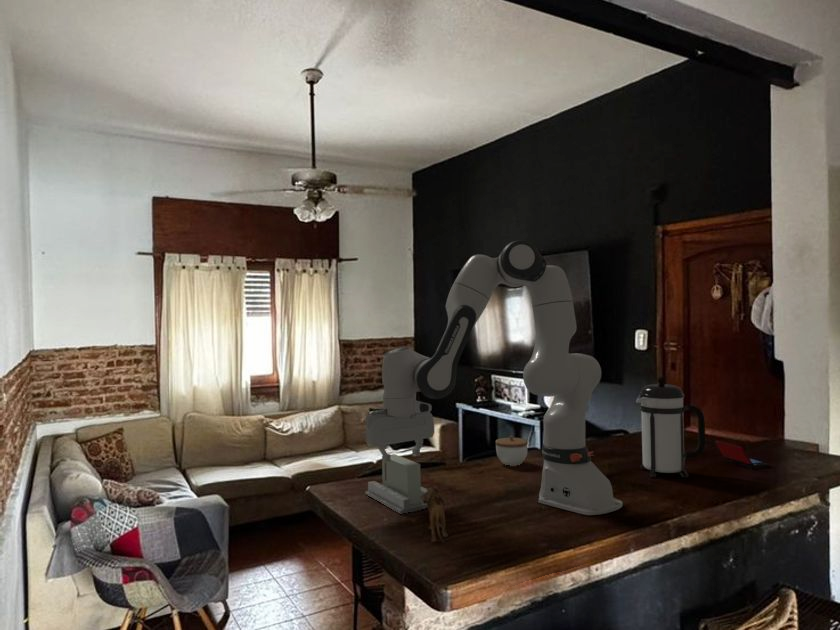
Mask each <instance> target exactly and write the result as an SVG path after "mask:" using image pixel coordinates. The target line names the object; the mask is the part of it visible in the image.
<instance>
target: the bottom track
mask: <svg viewBox="0 0 840 630" xmlns="http://www.w3.org/2000/svg"><path fill="white" fill-rule="evenodd" d="M367 487H368V488H367V490H366V491H364V494H367V495H368V496H370V497H372V498H374V499H375V500H377V501H379V502H381V503H382V504H384V505H386V506H387V507H389V508H391V509H392V511H393V510H394V511H393V512H395V511H396V512H398V513H400V514H402V515H404V514H403V513H406V514H409V513H408V512H411V513H414V511H415V512H418V510H419V511H422V510H421V509H424V510H426V509H425V508H428V507H427V503H426V504H424V503H423V501H422V500H421V502H418V503H413V504H410V498H408V497H406V496H404V495H402V494H400V493H398V492H396V491H394V490H392V489H390V488H387V487H385V486H383V484H381V483H379V482H377V481H376V480H373V481H368V482H367ZM426 492H427V488H426V487H424V486H421V496H422V495H424V494H425V493H426ZM368 496H367V497H368ZM375 500H374V501H375ZM377 501H376V502H377ZM382 504H381V505H382ZM384 505H383V506H384ZM386 506H385V507H386ZM387 507H386V508H387ZM389 508H388V509H389ZM391 509H390V510H391ZM396 512H395V513H396ZM398 513H397V514H398ZM400 514H399V515H400Z"/></svg>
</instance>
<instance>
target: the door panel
mask: <svg viewBox="0 0 840 630" xmlns="http://www.w3.org/2000/svg"><path fill="white" fill-rule="evenodd" d="M390 459H391V460H390V461H388V462H384V461H383V456H382V455H381V470H382V471H381V473H382V474H381V476H382V485H383V486H385V487H387V488H390V489H392V490H394V491H396V492H398V493H400V494H402V495H404V496H406V497H408V498H410V504H413V503H418V502H421V498H420V497H421V487H422V486H421V485H422V484H421V481H422V479H421V463H418V462H415V461H413V460H411V459H408V458H405V457H403V456H400V455H397V454H394V453H392V454H390Z"/></svg>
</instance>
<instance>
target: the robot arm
mask: <svg viewBox="0 0 840 630" xmlns="http://www.w3.org/2000/svg"><path fill="white" fill-rule="evenodd" d="M497 287H500V288H501V287H502V288H507V289H520V288H522V287H525V288H526V289H527V290H528V292H529V294H530V297H531V304H532V305H531V306H532V313H533V320H534V329H535V330H534V331H535V339H534V341H535V342H534V347H533V352H532V354H531V357H530V359H529V361H528V362H527V363H526V364H525V366H524V368H523V373H522V374H523V375H522V377H523V378H522V380H523V383H524V386H525V388H526V389H527V390H528V392H529V393H531V394H533V395H535V396H540V397H548V398H551V397H552V398H553V400H552V403H551V404H550V406H549V408H548V409H547V411H546V412H545V414H544V416H543V443H542V445H541V446H542V449H541V452H542V453H541V454H542V455H541V457H542V458H543V467H542V474H541V485H540V490H539V494H538V503H540V504H542V505H546V506H550V507H553V508H554V507H555V508H558V509H562V510H564V511H565V510H566V511H569V512H573V513H576V514H580V515H584V516H596V515H597V516H598V515H604V514H608V513H611V512H615V511H617V510H619V509H622V507H623V506H624V505H623V504H624V503H623V501H622V500H620V499H618V498H616V497H614V493H613V486H612V484H611V481H610V480H609V478H607V477H606V475H605V474H603V472H602V471H601V470H600V469H599V468H598V467H597V466H596V465H595V464H594V463H593V462H592V461H591V460H592V458H591V457H592V456H594V454H593V453H594V451H593V450H591V451H589V449H588V446H587V445H586V417H587V411H588V407H589V402H590V399H591V397H592V394H593V391H594V389H595V388H596V387H597V385H598V384H599V383H600V381H601V379H602V368H601V366H600V363H599V362H598V360H597V359H596V357H595V358H594V357H593V356H592V355H589V354H584V353H579V352H578V353H577V352H574V353H569V350H570V349H569V348H570V342H571V340H572V337H573V336H574V335H575V333H576V332H577V327H578V326H577V321H576V320H577V319H576V314H575V308H574V302H573V295H572V291H571V287H570V284H569V281H568V278H567V275H566V272H565V271H564V269H563V268H561V267H560V266H557V265H552V264H550V265H547V260H546V259H545V258H544V256H543V255H541V253H540V252H539V250H538V249H537V247H536V246H535V245H534V244H533V243H531V242H529V241H527V240H514V241H511V242H510V243H508V244H506V245H505V247H504V248H503V249H502V251H501V252H500V254H499V255H498V256H497V257H490V256H488V255H486V254H474V255H472V256H470V258H469V259H468V260H467V261H466V262H465V263H464V265H463V267H462V268H461V270H460V271H459V273H458V274H457V277H456V278H455V280H454V282H453V284H452V286H451V288H450V291H449V292H448V296H447V299H446V301H445V302H446V303H445V310H446V314H447V325H446V329H445V331H444V334H443V335H442V337H441V340H440V342H439V345H438V346H437V348H436V351H435V353H434V354H433V356H432V357H429V356H425V355H423V354H420V353H418V352H416V351H415V350H414V349H412V348H410V347H407V346H405V347H399V348H398V347H397V348H394V349H391V350H389V351H387V352H385V354H384V355H383V359H382V366H381V369H382V370H381V379H382V381H381V383H382V384H383V394H382V404H383V405H382V406H383V407H382V408H383V409H379V410H372V411H370V412H369V413H368V414H367V415H366V416H365V426H366V427H365V443H366V444H367V446H368V447H373V448H374V447H375V448H376V447H377V448H378V451H379V452H380V454H381V457H382V456H383V461H384V462H388V461H390V460H391V459H390V455H391V454H389V453H387V451H386V450H387V449H388V448H387V446H389V445H393V444H399V443H406V442H411V441H414V443H415V446H414V448H413V449H411V452H412V455H411V456H413V457H420V456H421V450H422V446H423V445H424V440H425V439H430V438H433V437H434V435H435V422H434V420H435V419H434V416H433V414H432V413H431V412H432V409H433V407H432V404H431V403H427V402H423V401H420V400H416V393H417V392H418V393H420V392H421V393H422V395H424V397H426V398H429V399H432V400H440V399H444V398H446V397H447V396H449V395H450V394H451V393H452V392H453V390H454V388H455V386H456V382H457V368H458V364H459V361H460V358H461V356H462V354H463V351H464V349H465V347H466V345H467V342H468V340H469V337H470V335H471V333H472V330H473V329H474V328H475V325H476V324H477V322H478V321H479V320H480V318H481V316H482V314H483V313H484V311H485V309H486V307H487V306H488V304H489V301H490V299H491V297H492V295H493V293H494V292H495V290H496V288H497Z"/></svg>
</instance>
